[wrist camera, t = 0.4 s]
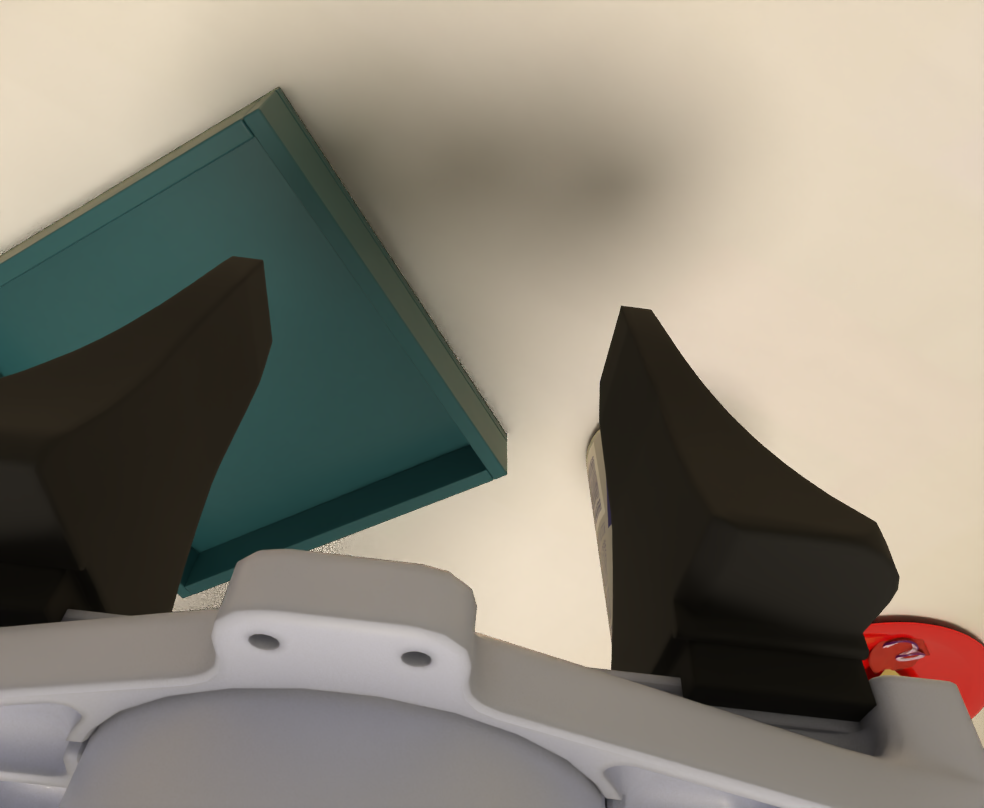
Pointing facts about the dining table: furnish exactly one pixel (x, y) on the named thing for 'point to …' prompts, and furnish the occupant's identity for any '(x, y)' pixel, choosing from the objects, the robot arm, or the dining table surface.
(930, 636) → the hamburger
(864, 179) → the dining table surface
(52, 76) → the dining table surface
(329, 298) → the tray
